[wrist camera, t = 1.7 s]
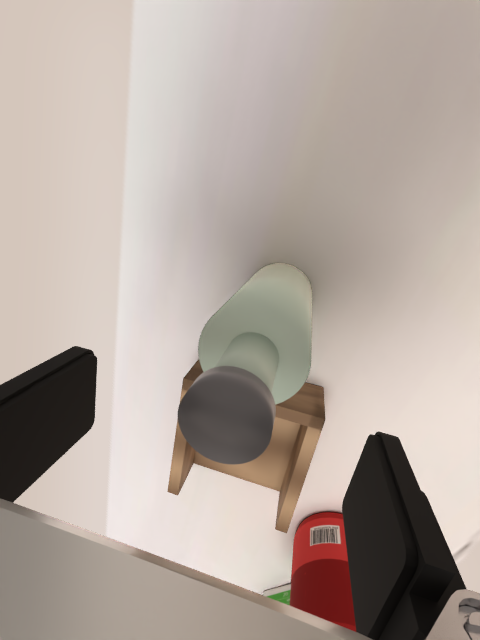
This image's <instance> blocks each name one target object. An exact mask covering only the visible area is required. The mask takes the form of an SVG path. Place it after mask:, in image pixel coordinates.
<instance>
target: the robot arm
mask: <svg viewBox="0 0 480 640" xmlns="http://www.w3.org/2000/svg"><path fill="white" fill-rule="evenodd" d="M96 374H97V357H96V356H94V353H93V351H92V350H89V349H85V348H81V347H78V346H74V347H72V348H70V349H68V350H66V351H64V352H63V353H60V354H59V355H57V356H55V357H53V358H51V359H50V360H47V361H45V362H43V363H41V364H39V365H38V366H36V367H34V368H32V369H30V370H28V371H26V372H24V373H22V374H20V375H19V376H17V377H15V378H13V379H11V380H9V381H7V382H5V383H3V384H2V385H0V640H480V594H479V593H477V592H474V591H470V590H467V589H466V587H465V585H464V582H463V580H462V578H461V575H460V573H459V571H458V568H457V566H456V564H455V561H454V559H453V557H452V554H451V552H450V550H449V547H448V545H447V543H446V540H445V538H444V536H443V533H442V531H441V529H440V526H439V524H438V522H437V520H436V517H435V515H434V513H433V510H432V508H431V506H430V503H429V501H428V499H427V497H426V495H425V493H424V492H422V491H421V490H420V487H419V485H418V483H417V480H416V478H415V476H414V473H413V471H412V468H411V466H410V464H409V461H408V459H407V456H406V454H405V452H404V449H403V447H402V445H401V442H400V440H399V438H398V437H396V436H392V435H389V434H385V433H382V432H377V433H376V434H375V435H369V436H368V439H367V441H366V444H365V446H364V449H363V451H362V454H361V456H360V459H359V461H358V464H357V466H356V469H355V471H354V474H353V476H352V479H351V482H350V484H349V487H348V489H347V492H346V494H345V497H344V500H343V505H342V513H343V522H344V530H345V539H346V548H347V556H348V565H349V573H350V582H351V591H352V599H353V608H354V616H355V625H356V632H355V631H352V630H350V629H347V628H345V627H342V626H340V625H337V624H335V623H332V622H330V621H327V620H324V619H322V618H319V617H317V616H314V615H312V614H309V613H307V612H304V611H302V610H299V609H297V608H294V607H292V606H289V605H287V604H284V603H281V602H279V601H276V600H274V599H271V598H268V597H266V596H263V595H260V594H258V593H255V592H252V591H250V590H247V589H244V588H242V587H239V586H236V585H234V584H231V583H228V582H226V581H223V580H220V579H218V578H215V577H213V576H210V575H207V574H205V573H202V572H199V571H197V570H194V569H191V568H189V567H186V566H183V565H181V564H178V563H175V562H173V561H170V560H167V559H164V558H162V557H159V556H156V555H154V554H151V553H148V552H146V551H143V550H140V549H137V548H135V547H132V546H129V545H127V544H124V543H121V542H119V541H116V540H113V539H110V538H108V537H105V536H102V535H99V534H96V533H94V532H91V531H88V530H86V529H83V528H81V527H78V526H75V525H72V524H70V523H67V522H64V521H61V520H59V519H56V518H53V517H50V516H47V515H45V514H42V513H39V512H36V511H34V510H31V509H28V508H25V507H22V506H20V505H17V504H14V503H13V502H14V501H15V500H16V499H17V498H18V497H19V496H20V495H21V494H22V493H23V492H24V491H25V490H26V489H28V488H29V487H30V486H31V485H32V484H33V483H34V482H35V481H36V480H37V479H38V478H39V477H40V476H41V475H42V474H43V473H45V471H47V470H48V469H49V468H50V467H51V466H52V465H53V464H54V463H55V462H56V461H57V460H58V459H59V458H60V457H61V456H62V455H64V454H65V453H66V452H67V451H68V450H69V449H70V448H71V447H72V446H73V445H74V444H75V443H76V442H77V441H78V440H79V439H80V438H81V437H83V436H84V435H85V434H86V433H87V432H88V431H89V430H90V429H91V427H92V425H93V423H94V418H95V397H96Z"/></svg>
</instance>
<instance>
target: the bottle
mask: <svg viewBox="0 0 480 640" xmlns="http://www.w3.org/2000/svg"><path fill="white" fill-rule="evenodd" d="M311 339H312V288H311V285H310V282H309V280H308V278H307V277H306V276H305V274H304V273H303V272H302V271H301V270H299V269H298V268H296V267H294V266H292V265H289V264H285V263H273V264H269V265H267V266H265V267H263V268H261V269H260V270H259V271H258V272H256V273H255V274H254V275H253V276H252V277H251V278H250V279H249V280H248V281H247V282H246V283H245V284H244V285H243V286H242V287H241V288H240V289H239V290H238V291H237V292H236V293H235V294H234V295H233V296H232V297H231V298H230V299H229V300H228V301H227V302H226V303H225V304H224V305H223V306H222V307H221V308H220V309H219V310H218V311H217V312H216V313H215V314H214V315H213V316H212V317H211V318H210V319H209V321H208V322H207V323H206V325H205V327H204V328H203V330H202V333H201V335H200V340H199V346H198V353H199V360H200V364H201V367H202V370H203V373H202V374H201V375H200V376H199V377H198V378H197V379H196V380H195V381H194V383H193V384H192V385H191V387H190V388H189V390H188V391H187V392H186V394H185V395H184V397H183V398H182V400H181V402H180V405H179V409H178V423H179V427H180V430H181V432H182V434H183V436H184V438H185V439H186V441H187V442H188V443H189V444H190V446H191V447H192V448H193V449H194V450H196V451H197V452H198V453H199V454H201V455H203V456H204V457H206V458H208V459H210V460H212V461H215V462H219V463H223V464H232V465H235V464H243V463H247V462H250V461H252V460H254V459H256V458H257V457H259V456H260V455H261V454H262V453H263V452H264V451H265V450H266V449H267V447H268V445H269V443H270V440H271V436H272V431H273V425H274V420H275V415H276V407H275V405H276V404H279V403H281V402H284V401H286V400H287V399H289V398H291V397H292V396H293V395H295V394H296V393H297V392H298V391H299V390H300V388H301V387H302V386H303V384H304V383H305V381H306V379H307V377H308V374H309V371H310V366H311Z"/></svg>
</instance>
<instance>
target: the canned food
mask: <svg viewBox="0 0 480 640" xmlns="http://www.w3.org/2000/svg"><path fill="white" fill-rule="evenodd" d="M290 606H292V607H294V608H297V609H299V610H302V611H304V612H307V613H309V614H312V615H314V616H317V617H319V618H322V619H324V620H327V621H330V622H332V623H335V624H337V625H340V626H342V627H345V628H347V629H350V630H352V631H355V632H356V625H355V616H354V608H353V599H352V591H351V582H350V573H349V565H348V556H347V548H346V539H345V530H344V522H343V514H340V513H333V512H324V513H318V514H314V515H312V516H309V517H308V518H306V519H305V520H304V521H303V522H302V523H301V524H300V525H299V527H298V529H297V532H296V534H295V537H294V545H293V560H292V575H291V591H290Z"/></svg>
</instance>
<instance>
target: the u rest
mask: <svg viewBox="0 0 480 640" xmlns="http://www.w3.org/2000/svg"><path fill="white" fill-rule="evenodd" d="M202 373H203V370H202V367H201V364H200V360H198V361H197V362H196V363H195V365H194V366H193V367H192V368H191V370H190V371H189V372H188V373H187V375H186V376H185V377H184V378H183V385H182V392H181V399H180V402H181V400H182V398H183V397H184V395H185V394H186V392H187V391H188V390H189V388H190V387H191V385H192V384H193V383H194V381H195V380H196V379H197V378H198V377H199V376H200V375H201V374H202ZM275 407H276V415H275V420H274V425H273V431H272V436H271V440H270V443H269V445H268V447H267V449H266V450H265V451H264V452H263V453H262V454H261V455H260V456H259V457H257V458H256V459H254V460H252V461H250V462H247V463H243V464H235V465H232V464H223V463H219V462H215V461H212V460H210V459H208V458H206V457H204V456H203V455H201V454H199V453H198V452H197V451H196V450H194V449H193V448H192V447H191V446H190V444H189V443H188V442H187V441H186V439H185V438H184V436H183V434H182V432H181V430H180V427H179V423H178V421H177V428H176V435H175V442H174V450H173V457H172V464H171V471H170V478H169V485H168V492H170V493H173V494H175V495H178V494H179V492H180V490H181V488H182V486H183V484H184V482H185V480H186V478H187V476H188V473H189V471H190V469H191V467H192V465H193V463H195V464H198V465H201V466H204V467H207V468H210V469H213V470H216V471H219V472H222V473H225V474H228V475H231V476H234V477H237V478H240V479H243V480H246V481H250V482H253V483H256V484H259V485H262V486H265V487H268V488H271V489H274V490H277V491H280V494H279V503H278V511H277V519H276V527H275V529H276V530H279V531H282V532H285V533H287V531H288V528H289V525H290V522H291V519H292V516H293V513H294V510H295V507H296V504H297V501H298V498H299V495H300V492H301V489H302V486H303V483H304V481H305V478H306V475H307V472H308V469H309V466H310V463H311V460H312V457H313V454H314V451H315V448H316V445H317V442H318V439H319V436H320V433H321V430H322V428H323V425H324V422H325V406H324V389H323V387H320V386H317V385H313V384H309V383H306V382H305V383H304V384H303V386H302V387H301V388H300V390H299V391H298V392H297V393H296V394H295V395H293V396H292V397H291V398H289V399H287V400H286V401H284V402H281V403H279V404H276V405H275Z"/></svg>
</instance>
